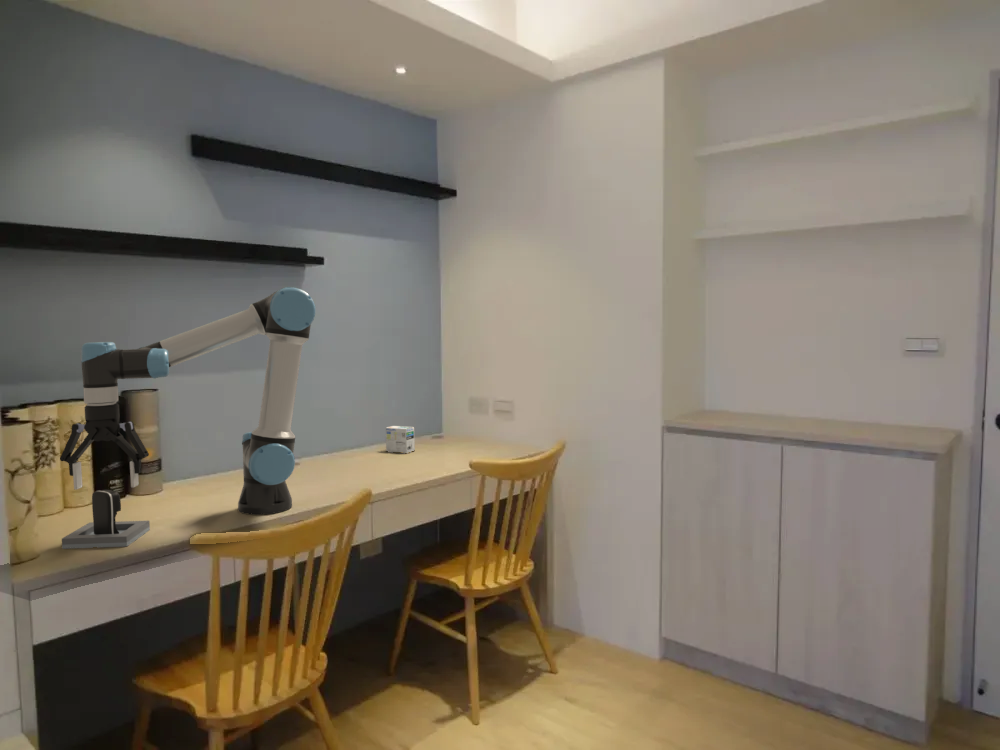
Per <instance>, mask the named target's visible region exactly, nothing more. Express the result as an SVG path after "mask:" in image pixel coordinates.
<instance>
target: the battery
mask: <svg viewBox="0 0 1000 750" xmlns="http://www.w3.org/2000/svg"><path fill="white" fill-rule="evenodd" d="M91 503H92V504H91V505H92V519H93V520H92V522H94V534H96V535H99V534H119V532H118V531H117V529H116V525H115V522H116V517H117V515H118V512H121V511H122V503H121V495H120V493H119V492H118V491H115V490H111V489H102V490H96V491H94V492H92V495H91Z"/></svg>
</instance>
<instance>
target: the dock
mask: <svg viewBox="0 0 1000 750" xmlns="http://www.w3.org/2000/svg"><path fill="white" fill-rule="evenodd" d="M115 525H116V529H117V531H118V532H119V534H99V535H96V534H94V522H93V521H91V522H87V523H86V524H85V525H83V526H81V527H80V528H77V529H75V530H74V531H72V532H70V533H69V534H67V535H65V536H64V537H62V538H61V549H62V550H65V549H66V550H67V549H91V548H92V549H93V547H97V548H122V547H128V546H130V545H131V544H132V543H134V542H135V541H136V540H138V539H140V538H141V537H142V536H144V535H145V534H146V533H148V532H149V531H151V528H150V520H128V521H127V520H125V521H123V520H122V521H115Z"/></svg>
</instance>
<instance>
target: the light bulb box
mask: <svg viewBox="0 0 1000 750" xmlns="http://www.w3.org/2000/svg"><path fill="white" fill-rule="evenodd" d="M385 441H386V442H385V448H386V449H385V452H386V451H388V452H387V453H393V452H403V453H402V454H405V453H407V454H409V453H408V452H410V453H412V452H411V451H414V450H415V445H416V444H415V427H414V426H406V425H404V426H402V425H391V426H386V427H385ZM415 451H416V450H415ZM415 451H414V452H415Z"/></svg>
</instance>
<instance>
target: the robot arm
mask: <svg viewBox="0 0 1000 750" xmlns="http://www.w3.org/2000/svg"><path fill="white" fill-rule="evenodd" d="M315 318H316V305H315V302H314V300H313V298H312V296H311V295H310V294H308V293H307V292H306V291H305V290H304V289H301V288H298V287H291V286H290V287H289V286H287V287H284V288H281V289H279V290H277V291H274V292H273V293H271V294H270V295H268V296H267V297H265V298H263V299H261V300H259V301H256V302H253V303H251V304H250V305H249V307H248V308H247V309H244V310H242V311H239V312H237V313H233V314H231V315H228V316H226V317H223V318H220V319H216V320H214V321H211V322H209V323H206V324H203V325H201V326H198V327H195V328H193V329H189V330H186V331H184V332H181V333H178V334H175V335H173V336H170V337H168V338H165V339H162V340H160V341H157V342H154V343H152V344H149V345H146V346H142V347H139V348H135V349H134V348H132V349H129V348H128V349H120V348H119V349H118V348H117V346H116V343H115V342H113V341H99V342H91V341H90V342H85V343H83V344H82V345H81V360H80V363H81V372H82V387H83V403H84V404H86V405H85V406H84V420H85V424H83V423H81V422H77V423H73V424H72V426H71V433H70V436H69V438H68V440H67V442H66V445H65V446H64V449H63V451H62V453H61V454H60V457H59V461H61V462H65V463H67V464H68V468H69V469H68V471H69V476H71V477H73V490H76V491H77V490H80V489H81V488H83V471H82V470H83V469H82V461H79V459H80V458H81V457H82V455H83V454H85V452H86V450H88V448H89V447H90V446H91V445H92V443H93V442H101V441H104V442H110V441H112V442H114V443H115V444H117V446H118V447H120V448H121V450H123V452H124V454H126V455H127V456H128V457H129V458H130V459H131V461H129V473H130V487H131V488H136V487H138V486H139V485H140V484H139V474H140V473H142V460H143V459H145V458H147V457H149V456H150V454H149V452H148V450H147V448H146V446H145V444H144V443H143V441H142V439H141V438H140V436H139V435H138V433H137V431H136V430H135V424H134V422H133V421H128V422H123V423H122V422H121V421H120V414H121V413H120V404H119V403H117V402H119V387H118V386H119V385H118V381H119V380H125V379H126V380H130V379H158V378H166V377H168V376H169V375H170V368H171V367H174V366H176V365H178V364H181V363H184V362H186V361H189V360H193V359H195V358H198V357H200V356H203V355H205V354H209V353H210V352H213V351H216V350H218V349H222V348H224V347H227V346H229V345H233V344H234V343H238V342H240V341H242V340H246V339H249V338H251V337H254V336H256V335H258V334H259V335H262V336H267V338H268V339H269V346H268V353H267V360H266V361H267V362H266V370H265V375H264V383H263V389H262V390H263V391H262V398H261V405H260V413H259V419H258V420H259V421H258V426H257V427H256V428H255V429H254V430H253V431H249V432H245V433H243V435H242V441H241V445H242V466H243V467H242V468H243V485H242V489H241V492H240V496H239V498H238V502H237V509H238V510H237V511H238V512H239V513H241V514H246V515H255V516H256V515H269V514H276V513H281V512H284V511H287V510H289V509H292V506H293V499H292V498H293V497H292V495H291V492H290V490H289V488H288V485H287V482H286V481H287V479H289V478H290V477H291V475H292V474H293V471H294V469H295V465H296V460H295V459H296V458H295V454H294V451H295V444H296V441H295V440H296V435H295V434H294V432H293V431H292V423H293V422H292V421H293V417H294V409H295V408H294V407H295V400H296V393H297V386H298V380H299V379H298V377H299V372H300V370H299V369H300V364H301V356H302V350H303V345H304V344H305V343H307V342H308V341H309V339H310V333H311V326H312V325H311V324H312V323H313V321H314V319H315ZM121 429H122V430H123V432H125V434H126V435H127V437H128V439H129V441H130V442H129V441H127V440H126V438H124V435H123V434H121V433H120V431H121ZM84 431H85V432H86V433H87V435H86V436H85V437H84V439H83V441H82V442H81V443H80V445H79V446H78V447H77V448H76V449H75V447H76V446H77V443H78V441H79V439H80V436H81V435H82V433H83V432H84ZM130 443H131V444H132V445H133V446H132V445H131V444H130ZM74 450H75V451H74Z"/></svg>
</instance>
